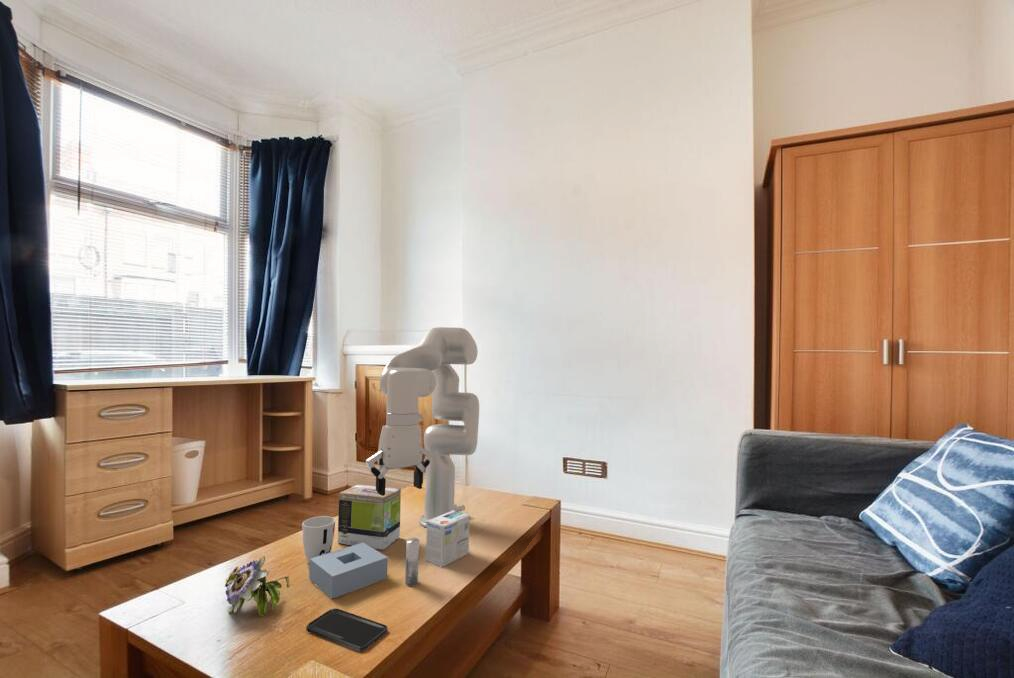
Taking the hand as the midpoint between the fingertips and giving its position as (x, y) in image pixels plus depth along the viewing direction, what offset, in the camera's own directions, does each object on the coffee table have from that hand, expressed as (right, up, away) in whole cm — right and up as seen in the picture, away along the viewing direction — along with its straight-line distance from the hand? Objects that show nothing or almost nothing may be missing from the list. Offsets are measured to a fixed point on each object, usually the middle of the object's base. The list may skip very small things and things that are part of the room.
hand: (399, 490), depth 111 cm
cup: (-24, -22, +10) cm, 34 cm away
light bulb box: (+10, -23, +13) cm, 28 cm away
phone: (-6, -22, -20) cm, 30 cm away
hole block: (-12, -21, 0) cm, 25 cm away
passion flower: (-28, -21, -12) cm, 37 cm away
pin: (+3, -22, -1) cm, 22 cm away
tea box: (-14, -22, +23) cm, 35 cm away
